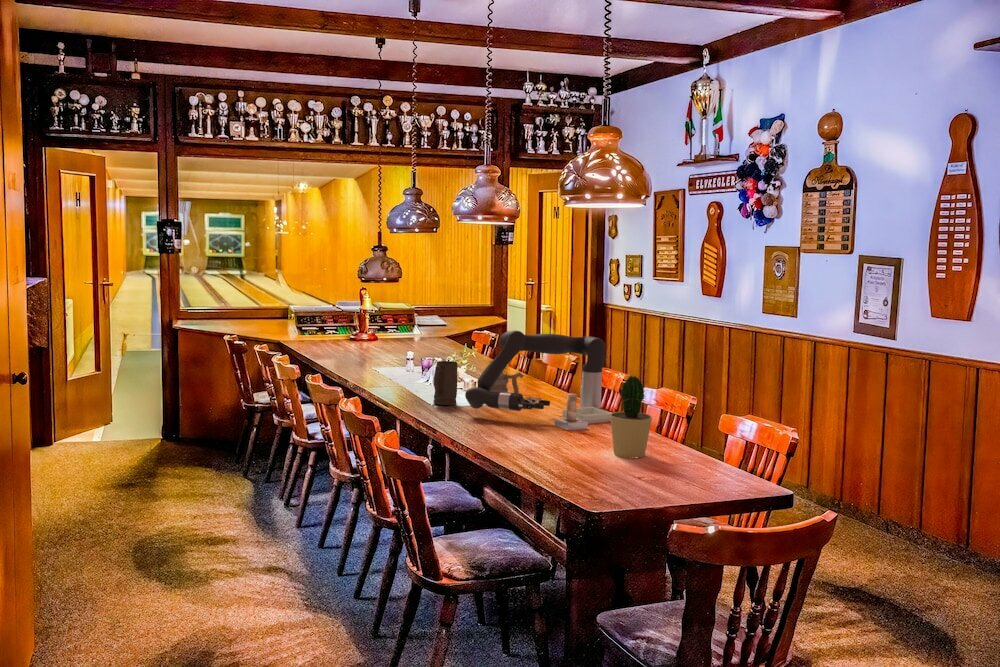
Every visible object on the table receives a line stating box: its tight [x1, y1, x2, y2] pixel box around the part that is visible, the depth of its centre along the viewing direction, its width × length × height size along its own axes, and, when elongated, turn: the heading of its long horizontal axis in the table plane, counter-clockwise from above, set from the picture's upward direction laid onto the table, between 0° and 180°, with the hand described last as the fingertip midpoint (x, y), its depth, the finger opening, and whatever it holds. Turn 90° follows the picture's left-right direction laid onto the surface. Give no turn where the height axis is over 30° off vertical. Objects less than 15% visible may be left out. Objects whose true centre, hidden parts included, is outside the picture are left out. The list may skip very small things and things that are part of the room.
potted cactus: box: [610, 374, 653, 459], centre depth 344 cm, size 15×15×30 cm
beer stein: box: [432, 360, 459, 406], centre depth 431 cm, size 15×11×20 cm
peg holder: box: [554, 417, 589, 431], centre depth 391 cm, size 10×10×3 cm
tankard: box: [490, 371, 524, 393], centre depth 442 cm, size 20×13×15 cm, turn 73°
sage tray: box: [562, 407, 612, 424], centre depth 409 cm, size 16×16×4 cm
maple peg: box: [566, 393, 578, 422], centre depth 390 cm, size 4×4×14 cm
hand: (546, 404), depth 394 cm, fingers open, 8 cm apart
